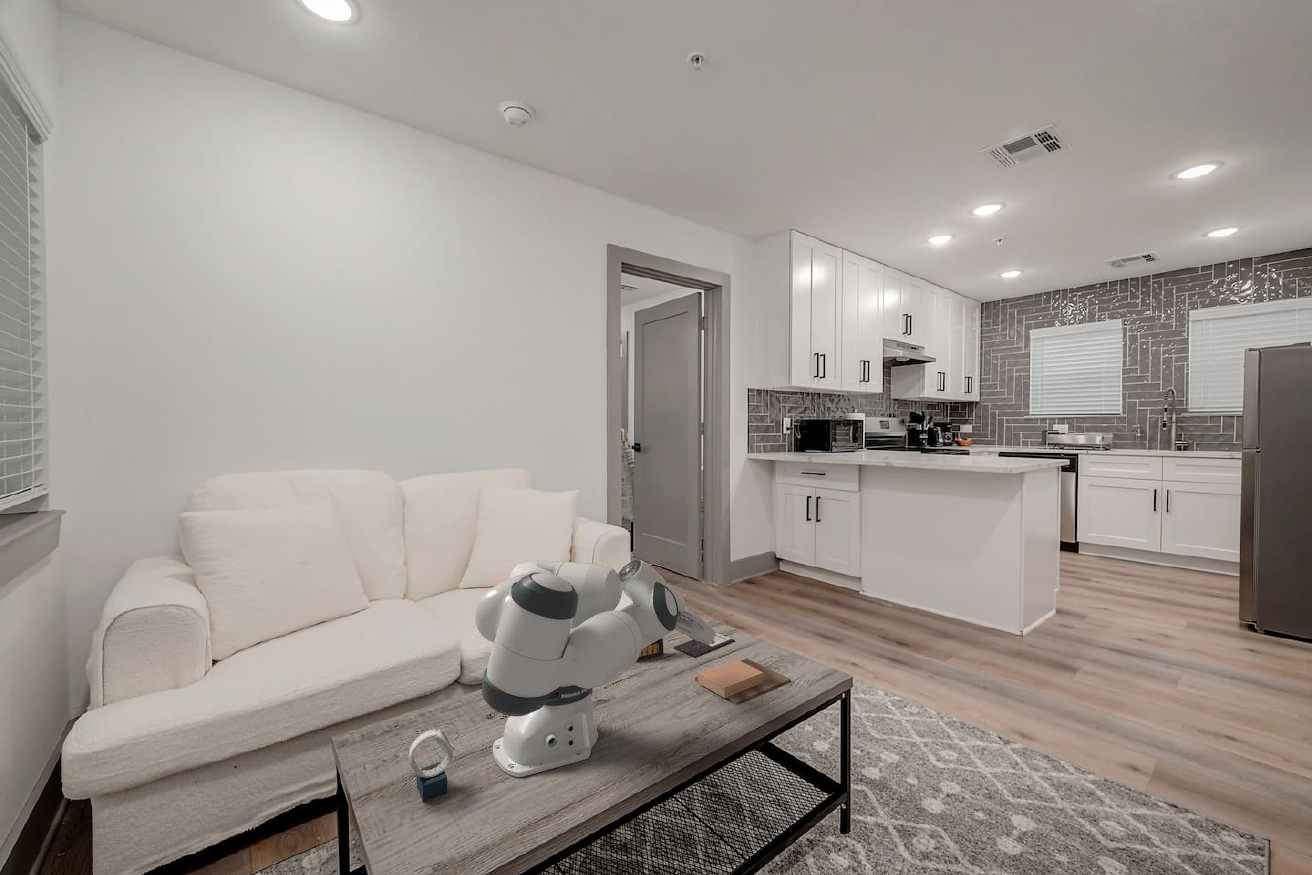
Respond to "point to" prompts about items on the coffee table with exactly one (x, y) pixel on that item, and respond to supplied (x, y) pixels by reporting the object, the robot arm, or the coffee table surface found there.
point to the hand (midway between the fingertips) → (697, 637)
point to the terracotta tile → (730, 678)
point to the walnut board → (769, 682)
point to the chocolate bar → (703, 646)
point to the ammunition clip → (652, 650)
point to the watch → (432, 767)
